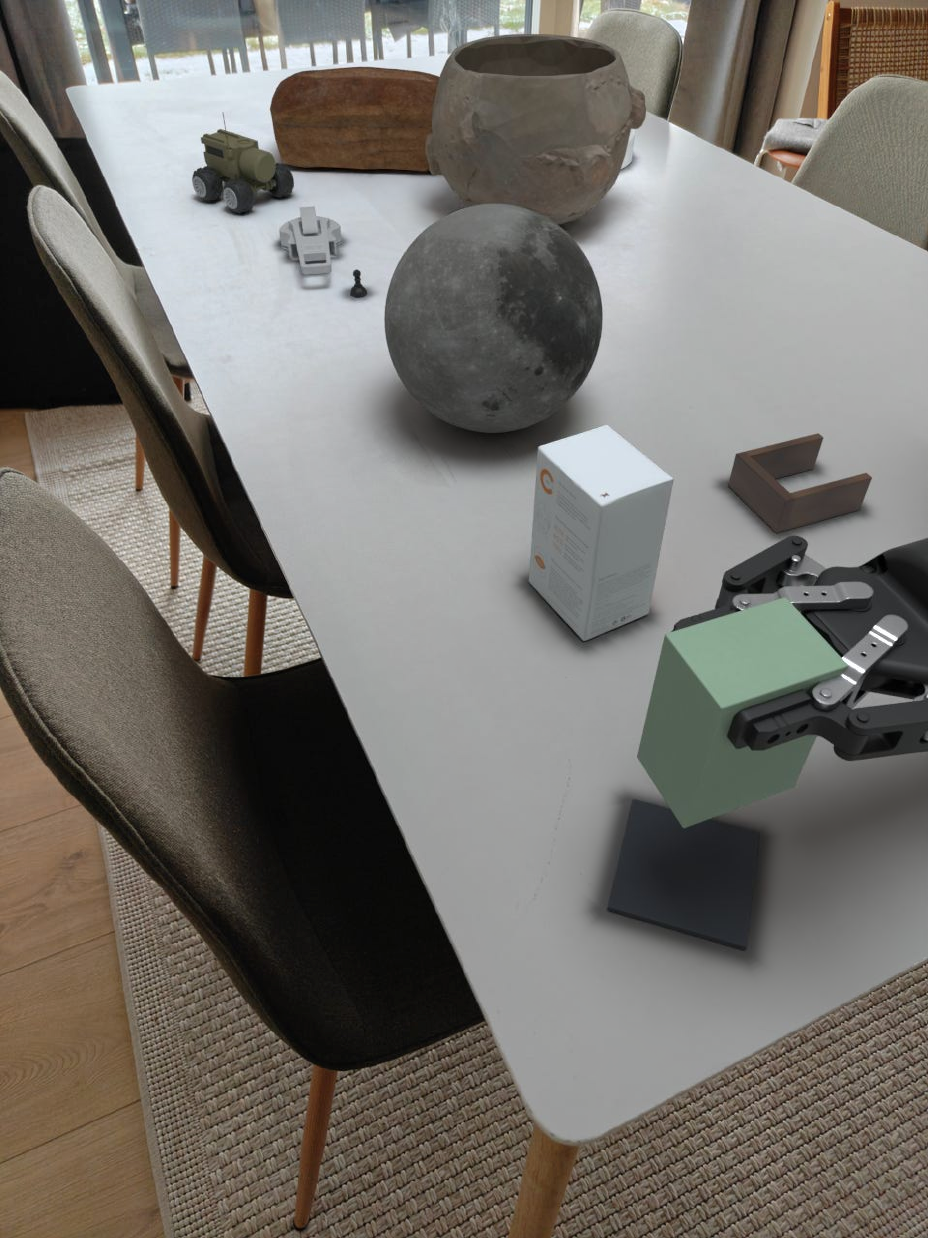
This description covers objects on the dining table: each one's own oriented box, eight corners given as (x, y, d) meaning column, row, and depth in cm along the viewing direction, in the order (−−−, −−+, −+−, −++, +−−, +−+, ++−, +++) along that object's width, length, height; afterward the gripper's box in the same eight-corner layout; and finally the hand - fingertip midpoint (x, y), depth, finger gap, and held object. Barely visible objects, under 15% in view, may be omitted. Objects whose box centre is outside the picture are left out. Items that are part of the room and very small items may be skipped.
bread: (456, 179, 139) (455, 88, 131) (270, 173, 141) (258, 83, 132) (463, 148, 149) (463, 61, 141) (289, 142, 151) (279, 57, 142)
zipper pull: (286, 294, 112) (281, 258, 109) (280, 234, 125) (275, 201, 122) (351, 288, 113) (348, 253, 110) (339, 230, 126) (336, 197, 123)
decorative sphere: (581, 365, 100) (601, 170, 86) (601, 475, 86) (629, 262, 72) (395, 365, 100) (385, 169, 86) (384, 474, 86) (369, 261, 72)
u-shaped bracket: (808, 464, 87) (818, 432, 85) (860, 509, 82) (872, 477, 80) (727, 485, 85) (735, 453, 82) (776, 533, 80) (786, 500, 78)
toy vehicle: (248, 178, 139) (234, 89, 131) (299, 196, 134) (289, 105, 126) (192, 199, 133) (174, 107, 125) (243, 219, 128) (228, 124, 120)
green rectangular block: (742, 720, 54) (785, 596, 47) (794, 788, 51) (849, 665, 44) (636, 757, 52) (664, 633, 45) (683, 829, 49) (721, 708, 42)
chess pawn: (346, 295, 112) (344, 270, 110) (355, 288, 113) (353, 264, 111) (361, 298, 111) (359, 274, 109) (369, 291, 113) (368, 267, 111)
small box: (650, 615, 73) (677, 478, 64) (582, 644, 70) (601, 506, 61) (590, 556, 78) (607, 421, 69) (525, 581, 75) (535, 445, 66)
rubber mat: (758, 835, 59) (759, 831, 58) (745, 950, 53) (746, 947, 53) (632, 802, 60) (633, 798, 60) (607, 910, 55) (607, 907, 55)
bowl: (390, 238, 124) (381, 68, 110) (478, 169, 142) (480, 16, 128) (583, 276, 116) (600, 98, 102) (650, 197, 134) (673, 37, 120)
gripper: (1051, 741, 47) (769, 852, 43) (866, 565, 57) (618, 640, 52) (1126, 639, 42) (813, 754, 37) (908, 463, 51) (636, 538, 47)
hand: (701, 687), depth 45 cm, fingers closed on green rectangular block, 5 cm apart
